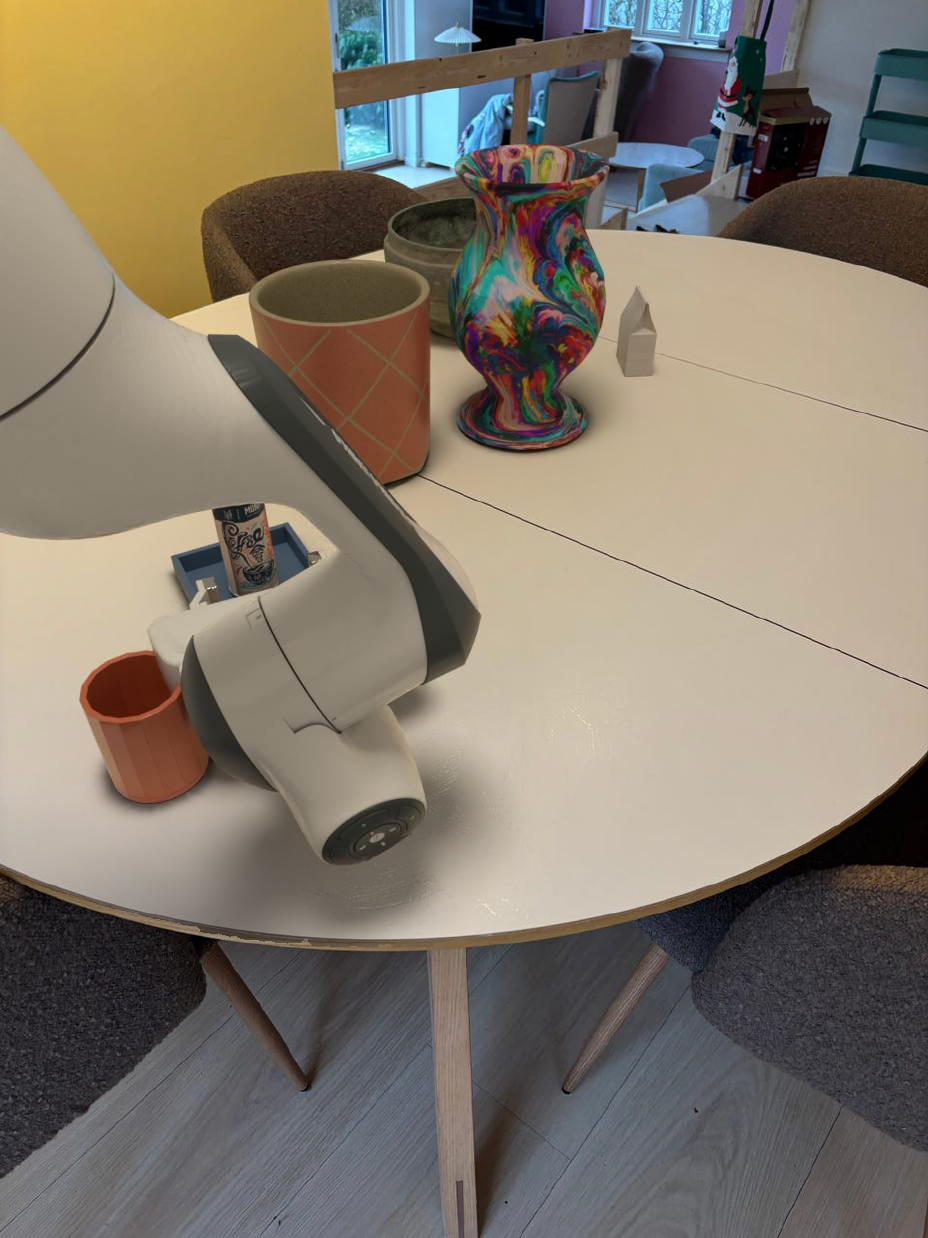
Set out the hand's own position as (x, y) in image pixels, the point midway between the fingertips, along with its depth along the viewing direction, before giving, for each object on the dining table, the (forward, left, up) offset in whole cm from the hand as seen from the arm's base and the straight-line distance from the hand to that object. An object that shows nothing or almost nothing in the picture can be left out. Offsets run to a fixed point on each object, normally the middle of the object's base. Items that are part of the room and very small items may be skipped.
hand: (261, 571), depth 76 cm
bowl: (+52, +57, -9) cm, 77 cm away
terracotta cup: (-13, -9, -9) cm, 18 cm away
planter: (+20, +28, -9) cm, 35 cm away
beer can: (+1, +9, -8) cm, 12 cm away
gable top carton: (+64, +32, -9) cm, 72 cm away
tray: (+1, +9, -9) cm, 12 cm away
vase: (+42, +26, -9) cm, 50 cm away
